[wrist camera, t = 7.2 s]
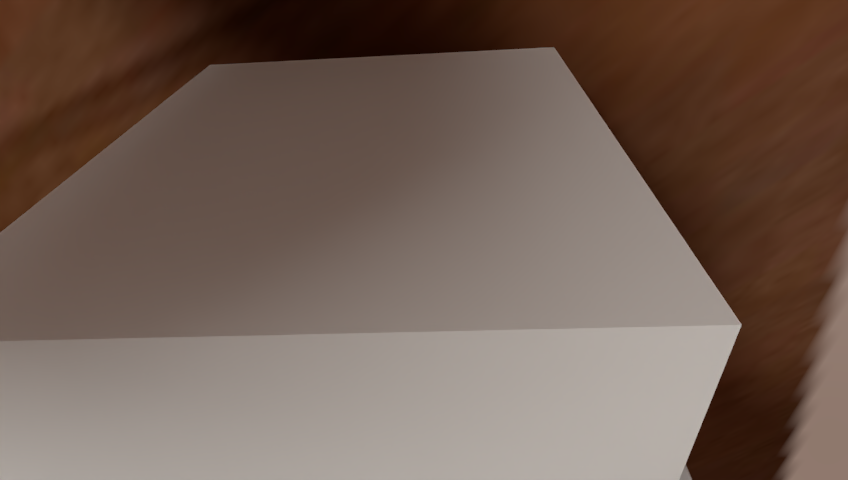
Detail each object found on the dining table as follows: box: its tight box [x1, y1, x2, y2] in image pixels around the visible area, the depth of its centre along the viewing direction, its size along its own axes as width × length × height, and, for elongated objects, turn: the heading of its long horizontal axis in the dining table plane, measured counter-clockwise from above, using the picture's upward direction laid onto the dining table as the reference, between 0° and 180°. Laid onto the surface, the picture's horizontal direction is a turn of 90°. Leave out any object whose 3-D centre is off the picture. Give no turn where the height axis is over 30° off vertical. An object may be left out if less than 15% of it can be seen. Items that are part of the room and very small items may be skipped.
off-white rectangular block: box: [0, 47, 741, 480], centre depth 10 cm, size 11×7×8 cm, turn 3°
